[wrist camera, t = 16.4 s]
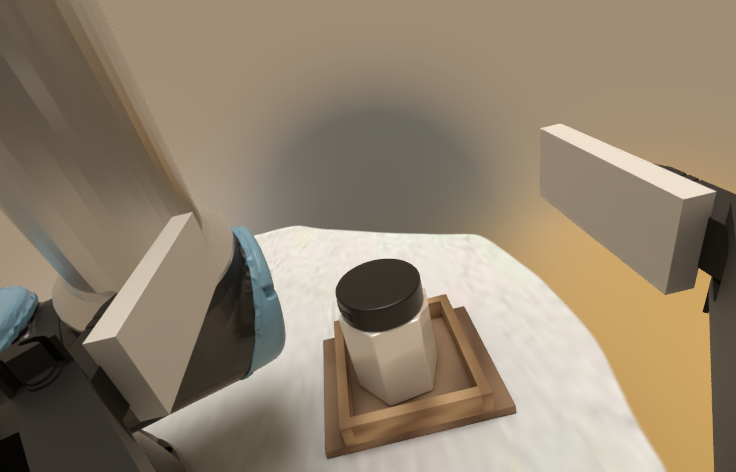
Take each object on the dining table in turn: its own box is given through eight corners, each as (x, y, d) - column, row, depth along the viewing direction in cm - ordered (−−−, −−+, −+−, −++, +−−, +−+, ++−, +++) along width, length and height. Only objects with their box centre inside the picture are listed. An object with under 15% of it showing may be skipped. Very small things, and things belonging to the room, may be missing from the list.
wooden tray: (328, 458, 38) (317, 434, 36) (325, 346, 51) (317, 325, 50) (516, 412, 38) (514, 387, 36) (464, 312, 51) (461, 290, 50)
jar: (372, 340, 49) (349, 257, 43) (441, 342, 46) (425, 253, 41) (352, 404, 42) (320, 313, 36) (431, 410, 39) (411, 313, 33)
